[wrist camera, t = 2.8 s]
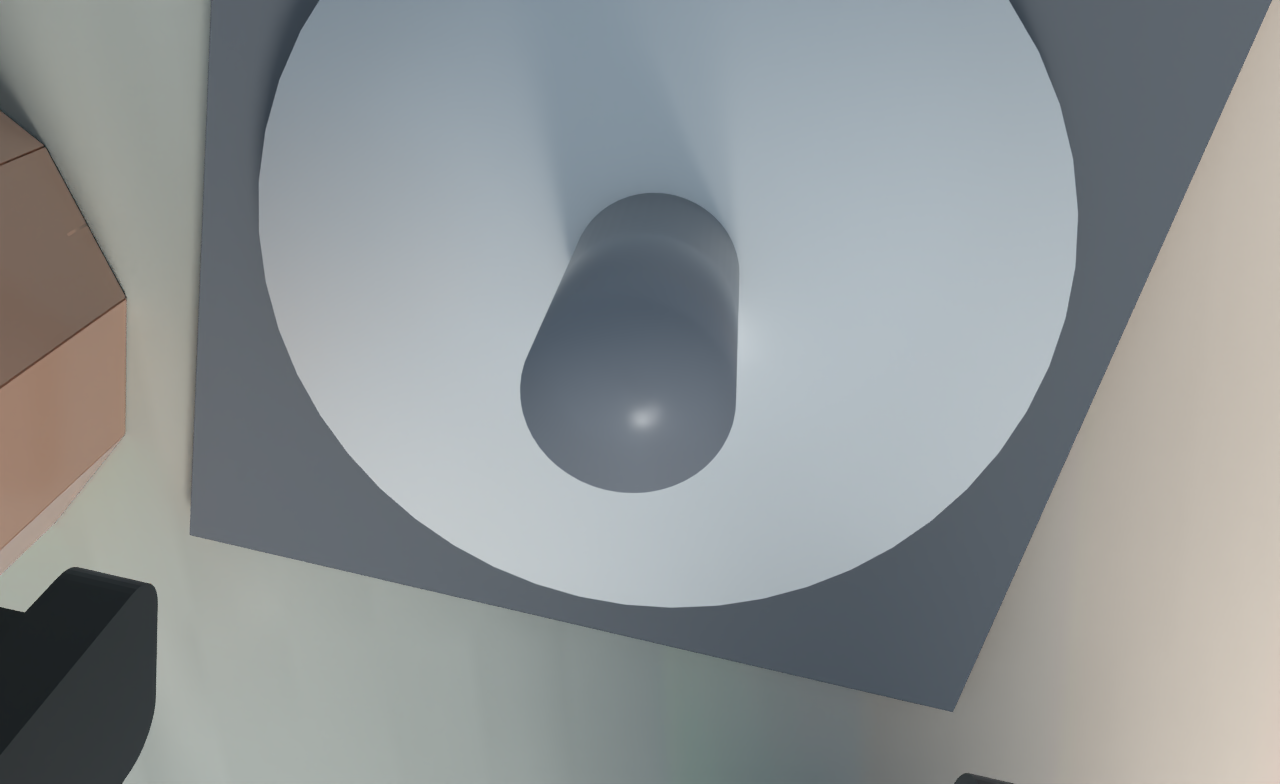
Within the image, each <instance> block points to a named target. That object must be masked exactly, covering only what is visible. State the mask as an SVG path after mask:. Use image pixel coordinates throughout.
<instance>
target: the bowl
mask: <svg viewBox="0 0 1280 784" xmlns="http://www.w3.org/2000/svg"><path fill="white" fill-rule="evenodd" d="M43 146H44V145H43V144H42V143H40V142H39V141H38V140H37V139H35V138H34V137H33V136H32V135H30V134H29V133H28V132H27V131H25V130H24V129H23V128H21V127H20V126H19V125H18V124H16V123H15V122H14V121H13V120H11V119H10V118H9V117H8V116H6V115H5V114H4V113H3V112H1V111H0V575H1V574H2V573H3V572H5V571H6V570H7V569H8V568H9V567H10V566H11V565H12V564H13V563H14V562H15V561H16V560H17V559H18V558H19V557H20V556H21V555H22V554H23V553H24V552H25V551H26V550H27V549H28V548H30V547H31V546H32V545H33V544H34V543H35V542H36V541H37V540H38V539H39V538H40V537H41V536H42V535H43V534H44V533H45V532H46V531H47V530H48V529H49V528H50V527H51V526H52V525H53V524H54V523H55V522H56V521H57V520H58V518H59V517H60V516H61V515H62V513H63V512H64V511H65V510H66V508H67V507H68V506H69V505H70V503H71V502H72V501H73V500H74V498H75V497H76V496H77V494H78V493H79V492H80V491H81V489H82V488H83V487H84V486H85V484H86V483H87V482H88V481H89V479H90V478H91V477H92V476H93V474H94V473H95V472H96V470H97V469H98V468H99V467H100V465H101V464H102V463H103V462H104V460H105V459H106V458H107V457H108V455H109V454H110V453H111V452H112V450H113V449H114V448H115V447H116V445H117V444H118V443H119V441H120V440H121V439H122V438H123V436H124V434H125V395H126V299H124V298H125V295H124V293H123V291H122V289H121V287H120V286H119V284H118V282H117V280H116V278H115V276H114V274H113V272H112V271H111V269H110V267H109V265H108V263H107V261H106V259H105V258H104V256H103V254H102V252H101V250H100V248H99V246H98V244H97V243H96V241H95V239H94V237H93V235H92V233H91V231H90V229H89V228H88V226H87V224H86V222H85V220H84V218H83V216H82V215H81V213H80V211H79V209H78V207H77V205H76V203H75V201H74V200H73V198H72V196H71V194H70V192H69V190H68V188H67V187H66V185H65V183H64V181H63V179H62V177H61V175H60V173H59V172H58V170H57V168H56V166H55V164H54V162H53V160H52V158H51V157H50V155H49V153H48V151H47V149H46V147H44V148H43Z"/></svg>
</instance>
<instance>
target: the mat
mask: <svg viewBox="0 0 1280 784" xmlns="http://www.w3.org/2000/svg"><path fill="white" fill-rule="evenodd" d="M1009 1H1010V3H1011V5H1012V7H1013V8H1014V10H1015V12H1016V13H1017V15H1018V17H1019V19H1020V20H1021V22H1022V24H1023V25H1024V27H1025V29H1026V31H1027V32H1028V34H1029V36H1030V37H1031V39H1032V41H1033V43H1034V44H1035V46H1036V48H1037V49H1038V51H1039V54H1040V56H1041V59H1042V61H1043V63H1044V66H1045V68H1046V71H1047V73H1048V76H1049V78H1050V81H1051V83H1052V86H1053V88H1054V91H1055V93H1056V96H1057V98H1058V101H1059V103H1060V107H1061V111H1062V115H1063V119H1064V123H1065V127H1066V132H1067V136H1068V140H1069V144H1070V148H1071V152H1072V157H1073V163H1074V174H1075V185H1076V196H1077V207H1078V226H1077V246H1076V266H1075V272H1074V277H1073V282H1072V287H1071V293H1070V298H1069V303H1068V308H1067V313H1066V318H1065V321H1064V324H1063V327H1062V330H1061V333H1060V336H1059V339H1058V342H1057V345H1056V348H1055V351H1054V354H1053V357H1052V360H1051V362H1050V365H1049V368H1048V370H1047V372H1046V374H1045V376H1044V378H1043V380H1042V382H1041V384H1040V386H1039V388H1038V390H1037V392H1036V394H1035V396H1034V398H1033V400H1032V402H1031V404H1030V406H1029V408H1028V410H1027V412H1026V413H1025V415H1024V416H1023V418H1022V419H1021V421H1020V422H1019V424H1018V425H1017V427H1016V428H1015V430H1014V431H1013V433H1012V434H1011V436H1010V437H1009V439H1008V440H1007V442H1006V443H1005V445H1004V446H1003V448H1002V449H1001V450H1000V452H999V453H998V454H997V456H996V457H995V458H994V459H993V460H992V461H991V462H990V463H989V465H988V466H987V467H986V468H985V469H984V470H983V471H982V473H981V474H980V475H979V476H978V477H977V478H976V479H975V481H974V482H973V483H972V484H971V485H970V486H969V487H968V489H967V490H965V491H964V492H963V493H962V494H961V495H960V496H959V497H958V498H956V499H955V500H954V501H953V502H952V503H951V504H950V505H949V506H947V507H946V508H945V509H944V510H943V511H942V512H941V513H940V514H938V515H937V516H936V517H935V518H934V519H933V520H932V521H930V522H929V523H927V524H926V525H925V526H923V527H922V528H920V529H919V530H917V531H916V532H914V533H913V534H912V535H910V536H909V537H907V538H906V539H904V540H903V541H901V542H900V543H899V544H897V545H896V546H894V547H893V548H891V549H889V550H887V551H885V552H884V553H882V554H880V555H878V556H876V557H874V558H872V559H870V560H868V561H867V562H865V563H863V564H861V565H859V566H857V567H855V568H853V569H852V570H849V571H847V572H844V573H842V574H839V575H836V576H834V577H831V578H829V579H826V580H824V581H821V582H819V583H816V584H814V585H811V586H808V587H805V588H801V589H798V590H794V591H790V592H786V593H783V594H779V595H775V596H771V597H768V598H764V599H758V600H752V601H745V602H739V603H732V604H725V605H719V606H699V607H675V608H669V607H654V606H638V605H625V604H619V603H613V602H607V601H602V600H596V599H590V598H585V597H579V596H576V595H572V594H569V593H565V592H562V591H559V590H555V589H552V588H548V587H545V586H541V585H538V584H535V583H532V582H530V581H527V580H525V579H523V578H520V577H518V576H515V575H513V574H510V573H508V572H505V571H503V570H500V569H498V568H496V567H493V566H491V565H489V564H488V563H486V562H484V561H482V560H480V559H478V558H477V557H475V556H473V555H471V554H469V553H467V552H465V551H464V550H462V549H460V548H458V547H456V546H454V545H453V544H451V543H450V542H448V541H447V540H445V539H444V538H442V537H441V536H440V535H438V534H437V533H435V532H434V531H432V530H431V529H429V528H428V527H426V526H425V525H424V524H422V523H421V522H419V521H418V520H416V519H415V518H414V517H413V516H411V515H410V514H409V513H408V512H407V511H406V510H405V509H403V508H402V507H401V506H400V505H399V504H398V503H396V502H395V501H394V500H393V499H392V498H391V497H390V496H388V495H387V494H386V493H385V492H384V491H383V490H381V489H380V488H379V487H378V486H377V484H376V483H375V482H374V481H373V480H372V479H371V478H370V477H369V476H368V475H367V474H366V473H365V471H364V470H363V469H362V468H361V467H360V466H359V465H358V464H357V463H356V462H355V461H354V459H353V458H352V457H351V456H350V455H349V454H348V453H347V451H346V450H345V449H344V447H343V446H342V445H341V443H340V442H339V440H338V439H337V438H336V436H335V435H334V434H333V432H332V431H331V429H330V428H329V427H328V425H327V424H326V423H325V421H324V420H323V418H322V417H321V416H320V414H319V412H318V410H317V409H316V407H315V405H314V403H313V402H312V400H311V398H310V396H309V394H308V393H307V391H306V389H305V387H304V385H303V384H302V382H301V380H300V378H299V377H298V375H297V373H296V370H295V368H294V365H293V363H292V361H291V358H290V356H289V353H288V351H287V348H286V346H285V343H284V341H283V339H282V336H281V334H280V331H279V329H278V325H277V321H276V318H275V314H274V310H273V307H272V303H271V299H270V296H269V292H268V288H267V285H266V280H265V273H264V266H263V258H262V251H261V244H260V237H259V175H260V168H261V160H262V152H263V145H264V137H265V130H266V126H267V123H268V119H269V116H270V112H271V108H272V105H273V101H274V97H275V94H276V90H277V86H278V83H279V79H280V77H281V75H282V72H283V70H284V68H285V66H286V63H287V61H288V59H289V56H290V54H291V52H292V50H293V47H294V45H295V43H296V40H297V38H298V36H299V33H300V31H301V29H302V28H303V26H304V24H305V23H306V21H307V20H308V18H309V16H310V15H311V13H312V11H313V10H314V8H315V7H316V5H317V3H318V2H319V0H211V22H210V46H209V71H208V96H207V121H206V145H205V170H204V195H203V219H202V244H201V269H200V293H199V318H198V343H197V367H196V392H195V417H194V441H193V466H192V491H191V515H190V535H192V536H196V537H201V538H205V539H209V540H214V541H218V542H222V543H227V544H231V545H235V546H240V547H244V548H248V549H252V550H257V551H261V552H265V553H270V554H274V555H278V556H283V557H287V558H291V559H296V560H300V561H304V562H308V563H313V564H317V565H321V566H326V567H330V568H334V569H339V570H343V571H347V572H352V573H356V574H360V575H364V576H369V577H373V578H377V579H382V580H386V581H390V582H395V583H399V584H403V585H408V586H412V587H416V588H420V589H425V590H429V591H433V592H438V593H442V594H446V595H451V596H455V597H459V598H464V599H468V600H472V601H476V602H481V603H485V604H489V605H494V606H498V607H502V608H507V609H511V610H515V611H520V612H524V613H528V614H532V615H537V616H541V617H545V618H550V619H554V620H558V621H563V622H567V623H571V624H576V625H580V626H584V627H589V628H593V629H597V630H601V631H606V632H610V633H614V634H619V635H623V636H627V637H632V638H636V639H640V640H645V641H649V642H653V643H657V644H662V645H666V646H670V647H675V648H679V649H683V650H688V651H692V652H696V653H701V654H705V655H709V656H713V657H718V658H722V659H726V660H731V661H735V662H739V663H744V664H748V665H752V666H757V667H761V668H765V669H769V670H774V671H778V672H782V673H787V674H791V675H795V676H800V677H804V678H808V679H813V680H817V681H821V682H825V683H830V684H834V685H838V686H843V687H847V688H851V689H856V690H860V691H864V692H869V693H873V694H877V695H881V696H886V697H890V698H894V699H899V700H903V701H907V702H912V703H916V704H920V705H925V706H929V707H933V708H937V709H942V710H946V711H950V712H953V711H954V708H955V706H956V704H957V702H958V699H959V697H960V695H961V693H962V690H963V688H964V686H965V684H966V682H967V679H968V677H969V675H970V673H971V670H972V668H973V666H974V664H975V661H976V659H977V657H978V655H979V653H980V650H981V648H982V646H983V644H984V641H985V639H986V637H987V635H988V633H989V630H990V628H991V626H992V624H993V621H994V619H995V617H996V615H997V612H998V610H999V608H1000V606H1001V604H1002V601H1003V599H1004V597H1005V595H1006V592H1007V590H1008V588H1009V586H1010V583H1011V581H1012V579H1013V577H1014V575H1015V572H1016V570H1017V568H1018V566H1019V563H1020V561H1021V559H1022V557H1023V554H1024V552H1025V550H1026V548H1027V546H1028V543H1029V541H1030V539H1031V537H1032V534H1033V532H1034V530H1035V528H1036V525H1037V523H1038V521H1039V519H1040V517H1041V514H1042V512H1043V510H1044V508H1045V505H1046V503H1047V501H1048V499H1049V496H1050V494H1051V492H1052V490H1053V488H1054V485H1055V483H1056V481H1057V479H1058V476H1059V474H1060V472H1061V470H1062V467H1063V465H1064V463H1065V461H1066V459H1067V456H1068V454H1069V452H1070V450H1071V447H1072V445H1073V443H1074V441H1075V438H1076V436H1077V434H1078V432H1079V430H1080V427H1081V425H1082V423H1083V421H1084V418H1085V416H1086V414H1087V412H1088V409H1089V407H1090V405H1091V403H1092V401H1093V398H1094V396H1095V394H1096V392H1097V389H1098V387H1099V385H1100V383H1101V380H1102V378H1103V376H1104V374H1105V372H1106V369H1107V367H1108V365H1109V363H1110V360H1111V358H1112V356H1113V354H1114V351H1115V349H1116V347H1117V345H1118V343H1119V340H1120V338H1121V336H1122V334H1123V331H1124V329H1125V327H1126V325H1127V322H1128V320H1129V318H1130V316H1131V314H1132V311H1133V309H1134V307H1135V305H1136V302H1137V300H1138V298H1139V296H1140V293H1141V291H1142V289H1143V287H1144V285H1145V282H1146V280H1147V278H1148V276H1149V273H1150V271H1151V269H1152V267H1153V264H1154V262H1155V260H1156V258H1157V256H1158V253H1159V251H1160V249H1161V247H1162V244H1163V242H1164V240H1165V238H1166V235H1167V233H1168V231H1169V229H1170V227H1171V224H1172V222H1173V220H1174V218H1175V215H1176V213H1177V211H1178V209H1179V206H1180V204H1181V202H1182V200H1183V198H1184V195H1185V193H1186V191H1187V189H1188V186H1189V184H1190V182H1191V180H1192V177H1193V175H1194V173H1195V171H1196V169H1197V166H1198V164H1199V162H1200V160H1201V157H1202V155H1203V153H1204V151H1205V148H1206V146H1207V144H1208V142H1209V140H1210V137H1211V135H1212V133H1213V131H1214V128H1215V126H1216V124H1217V122H1218V119H1219V117H1220V115H1221V113H1222V111H1223V108H1224V106H1225V104H1226V102H1227V99H1228V97H1229V95H1230V93H1231V90H1232V88H1233V86H1234V84H1235V82H1236V79H1237V77H1238V75H1239V73H1240V70H1241V68H1242V66H1243V64H1244V61H1245V59H1246V57H1247V55H1248V53H1249V50H1250V48H1251V46H1252V44H1253V41H1254V39H1255V37H1256V35H1257V32H1258V30H1259V28H1260V26H1261V24H1262V21H1263V19H1264V17H1265V15H1266V12H1267V10H1268V8H1269V6H1270V3H1271V1H1272V0H1009Z"/></svg>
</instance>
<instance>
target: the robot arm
mask: <svg viewBox="0 0 1280 784" xmlns="http://www.w3.org/2000/svg"><path fill="white" fill-rule="evenodd" d="M157 612H158V599H157V592H156V590H155V587H154V586H153V585H151V584H149V583H145V582H140V581H136V580H132V579H127V578H123V577H118V576H114V575H110V574H105V573H101V572H96V571H92V570H88V569H83V568H79V567H73V568H70V569H68V570H66V571H65V572H63V573H62V574H61V575H60V576H59V577H58V578H57V579H56V580H55V581H54V582H53V583H52V584H51V585H50V586H49V587H48V589H47V590H46V591H45V592H44V593H43V594H42V595H41V596H40V597H39V598H38V599H37V600H36V601H35V602H34V603H33V604H32V606H31V607H30V608H29V609H28V610H27V611H26V612H25V613H24V612H20V611H15V610H11V609H6V608H2V607H0V784H122V783H123V781H124V780H125V778H126V777H127V775H128V774H129V772H130V771H131V769H132V767H133V766H134V764H135V762H136V761H137V759H138V757H139V755H140V753H141V751H142V748H143V746H144V744H145V741H146V739H147V736H148V733H149V730H150V726H151V723H152V719H153V715H154V709H155V700H156V659H157ZM954 784H1013V783H1009V782H1004V781H1000V780H996V779H991V778H987V777H983V776H978V775H974V774H969V773H965V774H962V775H961V776H960V777H959V778H958V779H957V780H956V782H955V783H954Z"/></svg>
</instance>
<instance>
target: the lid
mask: <svg viewBox="0 0 1280 784" xmlns="http://www.w3.org/2000/svg"><path fill="white" fill-rule="evenodd" d="M1077 226H1078V207H1077V196H1076V185H1075V174H1074V163H1073V157H1072V152H1071V148H1070V144H1069V140H1068V136H1067V132H1066V127H1065V123H1064V119H1063V115H1062V111H1061V107H1060V103H1059V101H1058V98H1057V96H1056V93H1055V91H1054V88H1053V86H1052V83H1051V81H1050V78H1049V76H1048V73H1047V71H1046V68H1045V66H1044V63H1043V61H1042V59H1041V56H1040V54H1039V51H1038V49H1037V48H1036V46H1035V44H1034V43H1033V41H1032V39H1031V37H1030V36H1029V34H1028V32H1027V31H1026V29H1025V27H1024V25H1023V24H1022V22H1021V20H1020V19H1019V17H1018V15H1017V13H1016V12H1015V10H1014V8H1013V7H1012V5H1011V3H1010V1H1009V0H319V2H318V3H317V5H316V7H315V8H314V10H313V11H312V13H311V15H310V16H309V18H308V20H307V21H306V23H305V24H304V26H303V28H302V29H301V31H300V33H299V36H298V38H297V40H296V43H295V45H294V47H293V50H292V52H291V54H290V56H289V59H288V61H287V63H286V66H285V68H284V70H283V72H282V75H281V77H280V79H279V83H278V86H277V90H276V94H275V97H274V101H273V105H272V108H271V112H270V116H269V119H268V123H267V126H266V130H265V137H264V145H263V152H262V160H261V168H260V175H259V237H260V244H261V251H262V258H263V266H264V273H265V280H266V285H267V288H268V292H269V296H270V299H271V303H272V307H273V310H274V314H275V318H276V321H277V325H278V329H279V331H280V334H281V336H282V339H283V341H284V343H285V346H286V348H287V351H288V353H289V356H290V358H291V361H292V363H293V365H294V368H295V370H296V373H297V375H298V377H299V378H300V380H301V382H302V384H303V385H304V387H305V389H306V391H307V393H308V394H309V396H310V398H311V400H312V402H313V403H314V405H315V407H316V409H317V410H318V412H319V414H320V416H321V417H322V418H323V420H324V421H325V423H326V424H327V425H328V427H329V428H330V429H331V431H332V432H333V434H334V435H335V436H336V438H337V439H338V440H339V442H340V443H341V445H342V446H343V447H344V449H345V450H346V451H347V453H348V454H349V455H350V456H351V457H352V458H353V459H354V461H355V462H356V463H357V464H358V465H359V466H360V467H361V468H362V469H363V470H364V471H365V473H366V474H367V475H368V476H369V477H370V478H371V479H372V480H373V481H374V482H375V483H376V484H377V486H378V487H379V488H380V489H381V490H383V491H384V492H385V493H386V494H387V495H388V496H390V497H391V498H392V499H393V500H394V501H395V502H396V503H398V504H399V505H400V506H401V507H402V508H403V509H405V510H406V511H407V512H408V513H409V514H410V515H411V516H413V517H414V518H415V519H416V520H418V521H419V522H421V523H422V524H424V525H425V526H426V527H428V528H429V529H431V530H432V531H434V532H435V533H437V534H438V535H440V536H441V537H442V538H444V539H445V540H447V541H448V542H450V543H451V544H453V545H454V546H456V547H458V548H460V549H462V550H464V551H465V552H467V553H469V554H471V555H473V556H475V557H477V558H478V559H480V560H482V561H484V562H486V563H488V564H489V565H491V566H493V567H496V568H498V569H500V570H503V571H505V572H508V573H510V574H513V575H515V576H518V577H520V578H523V579H525V580H527V581H530V582H532V583H535V584H538V585H541V586H545V587H548V588H552V589H555V590H559V591H562V592H565V593H569V594H572V595H576V596H579V597H585V598H590V599H596V600H602V601H607V602H613V603H619V604H625V605H638V606H654V607H669V608H675V607H699V606H719V605H725V604H732V603H739V602H745V601H752V600H758V599H764V598H768V597H771V596H775V595H779V594H783V593H786V592H790V591H794V590H798V589H801V588H805V587H808V586H811V585H814V584H816V583H819V582H821V581H824V580H826V579H829V578H831V577H834V576H836V575H839V574H842V573H844V572H847V571H849V570H852V569H853V568H855V567H857V566H859V565H861V564H863V563H865V562H867V561H868V560H870V559H872V558H874V557H876V556H878V555H880V554H882V553H884V552H885V551H887V550H889V549H891V548H893V547H894V546H896V545H897V544H899V543H900V542H901V541H903V540H904V539H906V538H907V537H909V536H910V535H912V534H913V533H914V532H916V531H917V530H919V529H920V528H922V527H923V526H925V525H926V524H927V523H929V522H930V521H932V520H933V519H934V518H935V517H936V516H937V515H938V514H940V513H941V512H942V511H943V510H944V509H945V508H946V507H947V506H949V505H950V504H951V503H952V502H953V501H954V500H955V499H956V498H958V497H959V496H960V495H961V494H962V493H963V492H964V491H965V490H967V489H968V487H969V486H970V485H971V484H972V483H973V482H974V481H975V479H976V478H977V477H978V476H979V475H980V474H981V473H982V471H983V470H984V469H985V468H986V467H987V466H988V465H989V463H990V462H991V461H992V460H993V459H994V458H995V457H996V456H997V454H998V453H999V452H1000V450H1001V449H1002V448H1003V446H1004V445H1005V443H1006V442H1007V440H1008V439H1009V437H1010V436H1011V434H1012V433H1013V431H1014V430H1015V428H1016V427H1017V425H1018V424H1019V422H1020V421H1021V419H1022V418H1023V416H1024V415H1025V413H1026V412H1027V410H1028V408H1029V406H1030V404H1031V402H1032V400H1033V398H1034V396H1035V394H1036V392H1037V390H1038V388H1039V386H1040V384H1041V382H1042V380H1043V378H1044V376H1045V374H1046V372H1047V370H1048V368H1049V365H1050V362H1051V360H1052V357H1053V354H1054V351H1055V348H1056V345H1057V342H1058V339H1059V336H1060V333H1061V330H1062V327H1063V324H1064V321H1065V318H1066V313H1067V308H1068V303H1069V298H1070V293H1071V287H1072V282H1073V277H1074V272H1075V266H1076V246H1077Z"/></svg>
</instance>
